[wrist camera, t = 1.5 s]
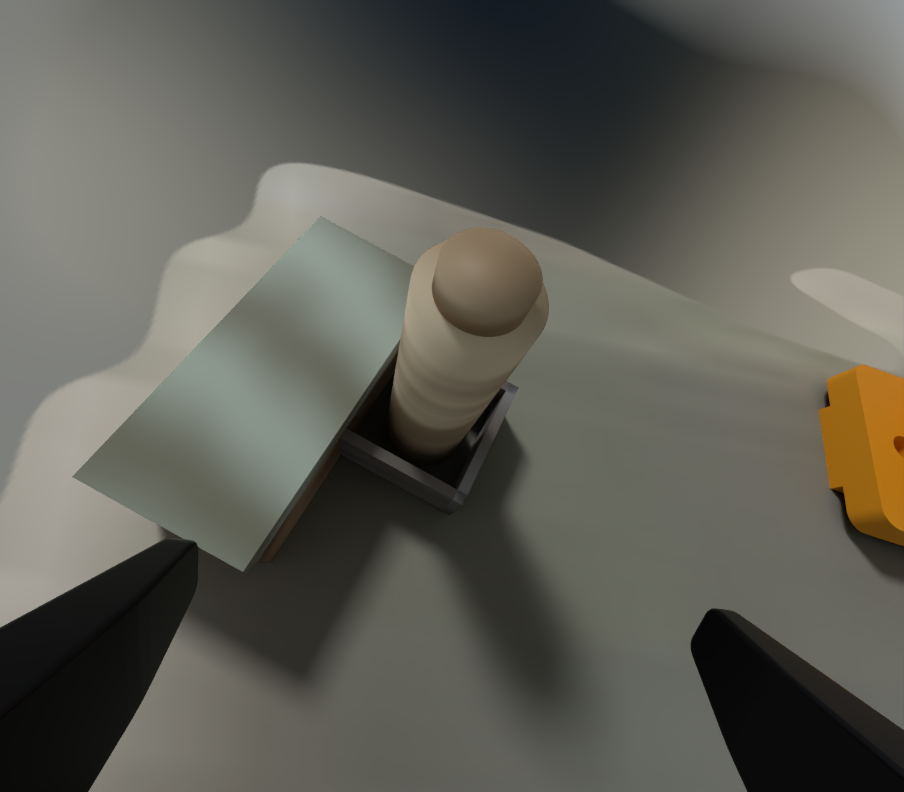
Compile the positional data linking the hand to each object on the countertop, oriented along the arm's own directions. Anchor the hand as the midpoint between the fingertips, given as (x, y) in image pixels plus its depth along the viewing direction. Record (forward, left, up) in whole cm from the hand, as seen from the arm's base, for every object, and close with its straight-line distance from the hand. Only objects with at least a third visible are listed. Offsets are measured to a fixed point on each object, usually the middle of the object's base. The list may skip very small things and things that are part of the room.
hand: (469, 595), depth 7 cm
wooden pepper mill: (+7, +3, -13) cm, 16 cm away
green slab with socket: (+5, +6, -13) cm, 15 cm away
